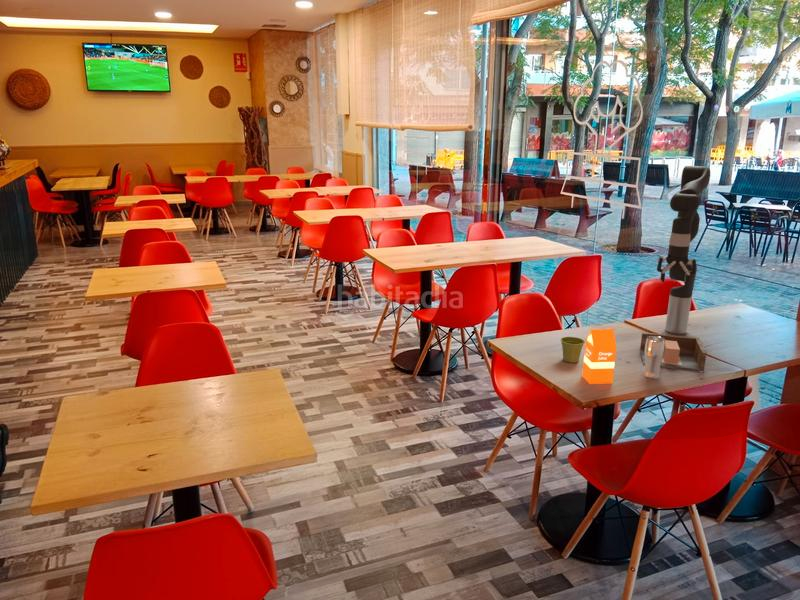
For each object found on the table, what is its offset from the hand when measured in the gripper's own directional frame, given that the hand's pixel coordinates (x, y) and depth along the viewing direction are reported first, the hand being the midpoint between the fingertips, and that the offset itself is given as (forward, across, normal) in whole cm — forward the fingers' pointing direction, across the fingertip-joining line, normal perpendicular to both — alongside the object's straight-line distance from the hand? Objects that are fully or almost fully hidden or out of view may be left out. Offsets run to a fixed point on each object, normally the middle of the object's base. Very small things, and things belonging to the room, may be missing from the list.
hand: (674, 282), depth 252 cm
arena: (+30, +1, -11) cm, 32 cm away
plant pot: (+30, -38, -23) cm, 54 cm away
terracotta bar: (+29, 0, -12) cm, 31 cm away
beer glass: (+30, -8, -30) cm, 43 cm away
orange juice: (+30, -28, -40) cm, 57 cm away
